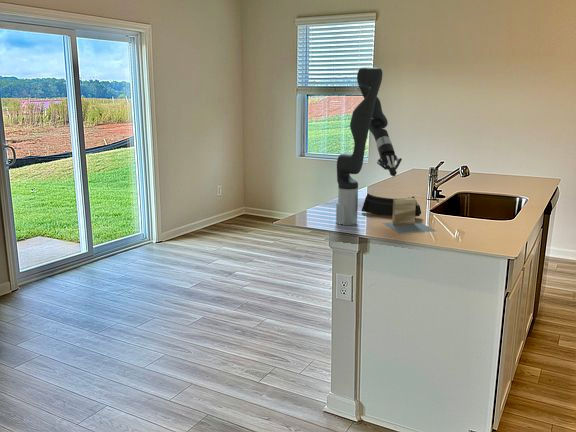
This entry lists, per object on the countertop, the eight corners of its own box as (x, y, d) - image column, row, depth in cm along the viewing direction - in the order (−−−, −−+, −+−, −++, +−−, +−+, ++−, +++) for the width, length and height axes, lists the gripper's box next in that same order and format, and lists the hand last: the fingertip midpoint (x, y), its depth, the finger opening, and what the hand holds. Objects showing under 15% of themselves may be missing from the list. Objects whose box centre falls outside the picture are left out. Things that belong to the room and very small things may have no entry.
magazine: (357, 196, 265) (412, 183, 249) (359, 195, 268) (414, 182, 252) (365, 227, 266) (420, 217, 250) (367, 226, 269) (422, 216, 253)
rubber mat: (436, 231, 229) (437, 231, 229) (399, 234, 225) (399, 233, 225) (416, 221, 248) (416, 220, 248) (381, 223, 244) (381, 222, 244)
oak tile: (414, 224, 241) (415, 199, 238) (394, 225, 239) (395, 200, 236) (411, 222, 244) (413, 198, 241) (392, 223, 242) (393, 199, 239)
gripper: (374, 143, 253) (383, 171, 244) (399, 142, 256) (409, 170, 247) (370, 152, 259) (379, 180, 251) (395, 152, 262) (404, 179, 253)
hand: (394, 175), depth 249 cm, fingers closed
